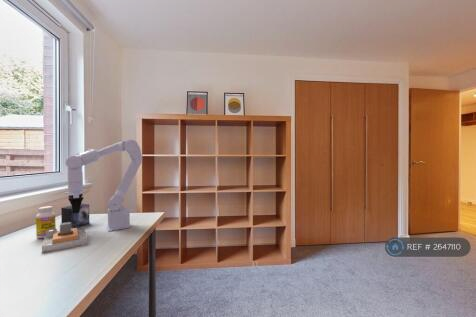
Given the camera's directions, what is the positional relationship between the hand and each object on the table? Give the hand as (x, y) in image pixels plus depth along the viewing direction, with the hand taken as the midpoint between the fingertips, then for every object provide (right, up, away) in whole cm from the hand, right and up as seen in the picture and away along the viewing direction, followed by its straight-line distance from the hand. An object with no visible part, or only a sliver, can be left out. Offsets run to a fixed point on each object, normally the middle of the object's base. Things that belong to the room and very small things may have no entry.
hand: (76, 211), depth 109 cm
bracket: (+3, -8, -10) cm, 13 cm away
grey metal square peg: (+5, -10, -13) cm, 17 cm away
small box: (-7, -10, +10) cm, 16 cm away
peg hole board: (+4, -10, -13) cm, 17 cm away
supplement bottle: (-10, -10, -5) cm, 15 cm away
